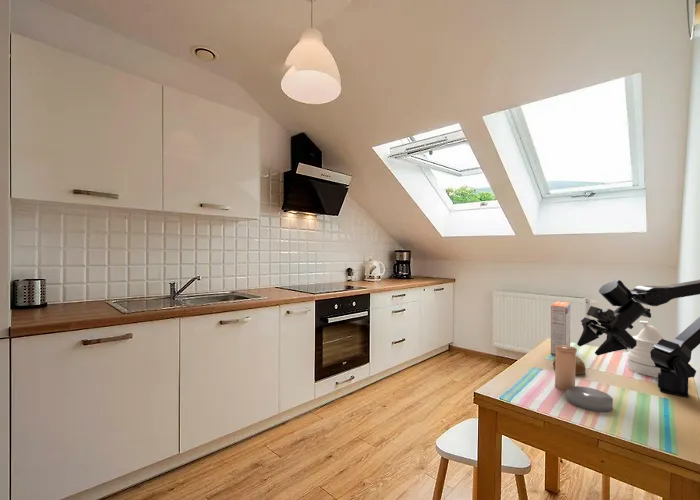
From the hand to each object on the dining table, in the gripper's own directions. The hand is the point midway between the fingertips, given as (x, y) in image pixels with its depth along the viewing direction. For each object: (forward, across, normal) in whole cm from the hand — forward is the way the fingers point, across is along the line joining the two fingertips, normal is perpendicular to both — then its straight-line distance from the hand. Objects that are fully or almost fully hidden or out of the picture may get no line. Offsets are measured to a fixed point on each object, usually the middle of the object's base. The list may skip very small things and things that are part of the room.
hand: (586, 349), depth 109 cm
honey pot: (-15, -18, +32) cm, 40 cm away
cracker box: (0, -39, +18) cm, 43 cm away
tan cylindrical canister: (+14, 0, +4) cm, 14 cm away
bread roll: (+7, -16, +12) cm, 21 cm away
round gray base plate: (+13, +11, +5) cm, 17 cm away
